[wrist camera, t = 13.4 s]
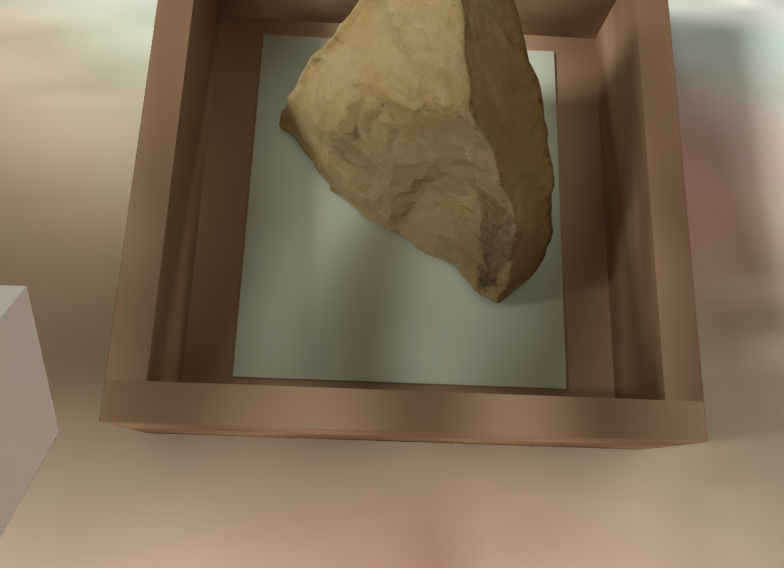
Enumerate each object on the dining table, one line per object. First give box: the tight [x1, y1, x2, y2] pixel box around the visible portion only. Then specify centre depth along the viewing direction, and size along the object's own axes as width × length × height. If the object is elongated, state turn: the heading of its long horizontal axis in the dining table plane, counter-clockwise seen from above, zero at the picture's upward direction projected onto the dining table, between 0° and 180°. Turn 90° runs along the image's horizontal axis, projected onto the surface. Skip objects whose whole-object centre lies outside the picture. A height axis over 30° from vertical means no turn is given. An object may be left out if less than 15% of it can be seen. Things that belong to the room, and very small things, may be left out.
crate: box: [99, 0, 707, 449], centre depth 26 cm, size 18×18×5 cm
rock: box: [279, 0, 555, 303], centre depth 24 cm, size 11×9×10 cm
